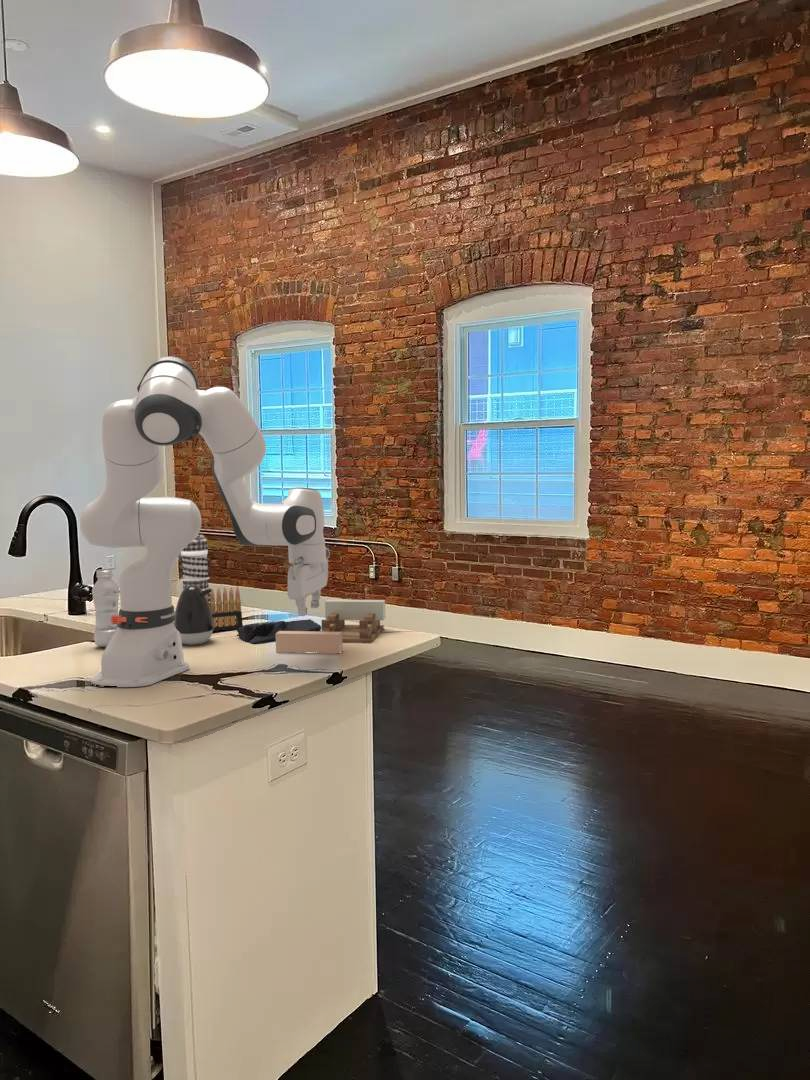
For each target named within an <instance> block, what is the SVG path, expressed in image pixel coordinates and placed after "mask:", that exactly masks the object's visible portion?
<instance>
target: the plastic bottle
mask: <svg viewBox="0 0 810 1080" xmlns="http://www.w3.org/2000/svg"><path fill="white" fill-rule="evenodd" d="M95 573H96V576H95V577H96V578H97V580H96V582H95V583H94V585H93V586H92V589H91V594H92V600H93V604H94V611H95V628H94V634H93V640H94V644H95V645H96V646H97V647H99V648H106V647H107V646H108V644H109V642H110V641H111V639H112V637H113V636H114V634H115V632H116V631H117V628H118V626H117V624H112V623H111V620H112V619H111V618H112V617H111V616H112V615H117V616H118V614H119V611H118V610H119V600H120V586H119V585H118V584H117V582H115V580H114V579H113V577H114V576H113V575H114V574H113V570H112V569H111V568H102V569H99V568H98V569H96V572H95Z"/></svg>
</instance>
